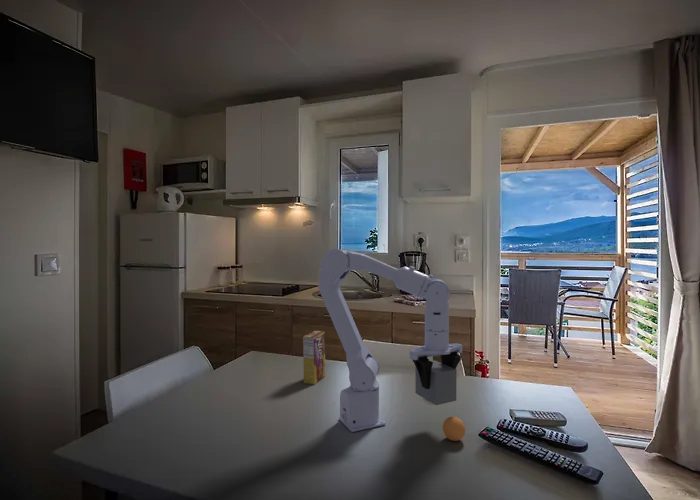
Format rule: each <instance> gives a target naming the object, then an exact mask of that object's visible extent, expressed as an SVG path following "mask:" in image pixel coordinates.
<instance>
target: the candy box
mask: <svg viewBox="0 0 700 500" xmlns="http://www.w3.org/2000/svg"><path fill="white" fill-rule="evenodd" d="M325 334H326V332H325V331H323V330H313V331H312V332H310V333H307V334H305V335H304V336H302V344H303V347H302V349H303V350H302V351H303V353H302V354H303V359H302V360H303V383H304V384H309V385H316V384H317V383H319V382H320V381H321V380H322V379H323V378H325V376H326V372H327V371H326V342H325V341H326V339H325Z"/></svg>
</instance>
